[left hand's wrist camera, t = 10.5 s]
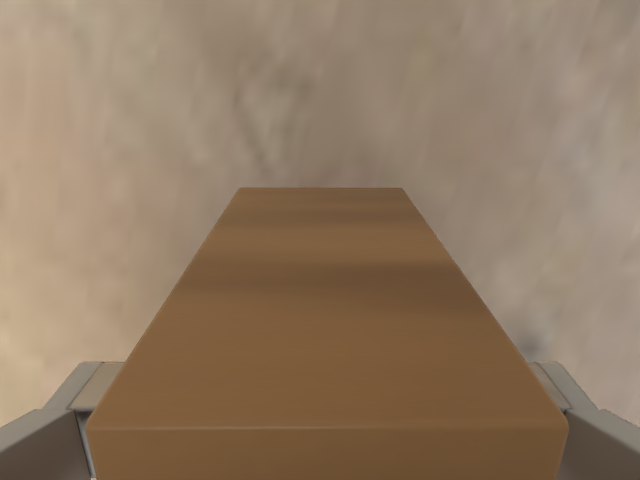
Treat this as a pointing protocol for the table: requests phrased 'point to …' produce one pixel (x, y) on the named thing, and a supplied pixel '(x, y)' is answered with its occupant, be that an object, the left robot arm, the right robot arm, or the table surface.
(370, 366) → the bar
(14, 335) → the table surface
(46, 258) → the table surface
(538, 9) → the table surface
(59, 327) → the table surface
